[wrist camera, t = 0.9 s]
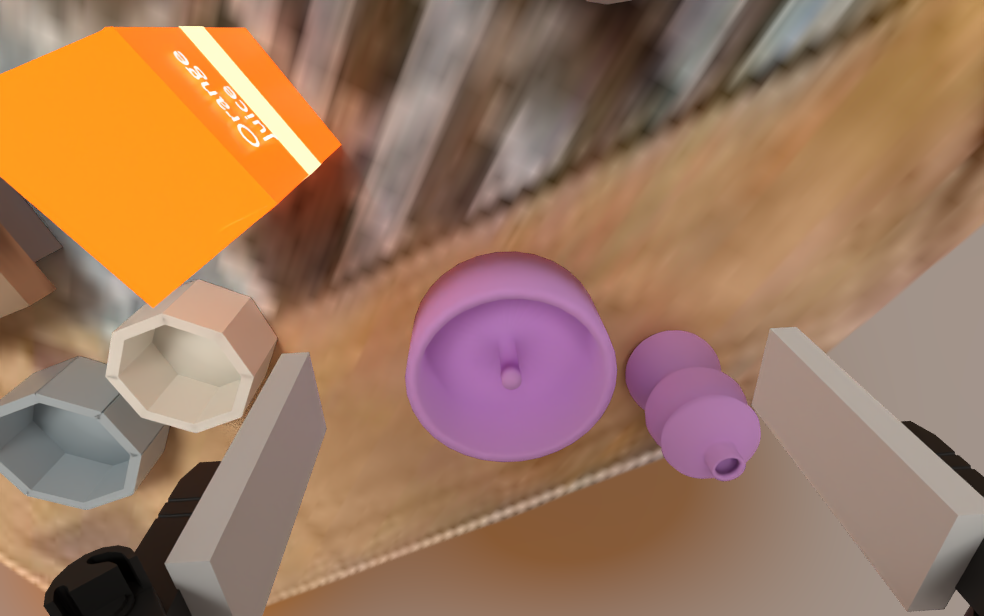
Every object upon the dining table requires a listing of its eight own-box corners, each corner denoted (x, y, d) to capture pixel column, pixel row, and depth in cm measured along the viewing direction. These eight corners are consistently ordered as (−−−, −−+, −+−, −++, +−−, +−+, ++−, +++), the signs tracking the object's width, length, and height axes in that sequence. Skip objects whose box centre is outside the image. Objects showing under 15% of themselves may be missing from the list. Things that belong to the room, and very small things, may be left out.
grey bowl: (0, 385, 44) (-52, 425, 40) (112, 342, 43) (72, 379, 38) (91, 476, 49) (54, 521, 45) (194, 440, 48) (167, 483, 43)
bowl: (123, 308, 42) (77, 345, 37) (230, 266, 40) (197, 299, 35) (196, 399, 46) (164, 444, 41) (295, 364, 45) (274, 405, 40)
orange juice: (262, 208, 38) (88, 362, 21) (161, 102, 35) (-152, 178, 17) (344, 143, 37) (230, 251, 19) (246, 24, 33) (-6, 18, 15)
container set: (404, 400, 47) (384, 523, 35) (424, 237, 40) (407, 323, 28) (674, 430, 50) (738, 553, 38) (735, 283, 43) (835, 377, 31)
